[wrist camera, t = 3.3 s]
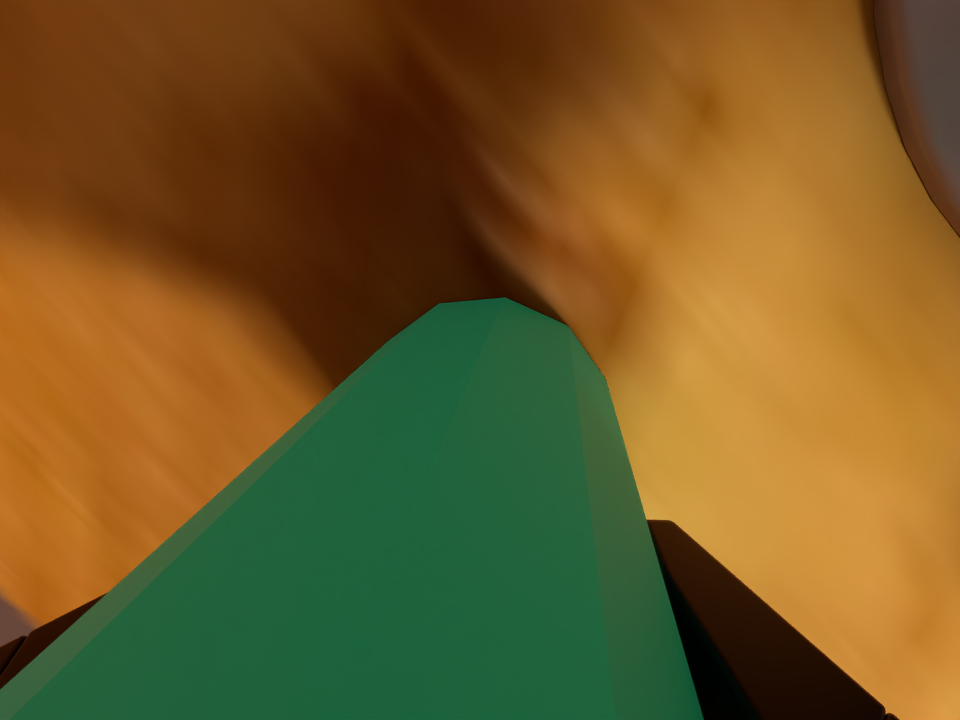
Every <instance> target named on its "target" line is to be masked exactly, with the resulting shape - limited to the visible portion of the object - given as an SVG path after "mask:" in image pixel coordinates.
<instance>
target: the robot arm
mask: <svg viewBox="0 0 960 720" xmlns="http://www.w3.org/2000/svg"><path fill="white" fill-rule="evenodd" d="M646 521H647V524H648V527H649V531H650V534H651V538H652V541H653V545H654V548H655V552H656V555H657V559H658V562H659V566H660V569H661V573H662V576H663V579H664V583H665V586H666V590H667V593H668V597H669V600H670V604H671V607H672V611H673V614H674V618H675V621H676V625H677V628H678V631H679V635H680V638H681V642H682V645H683V649H684V652H685V656H686V659H687V663H688V666H689V670H690V673H691V677H692V680H693V684H694V687H695V690H696V694H697V697H698V701H699V704H700V708H701V711H702V715H703V718H704V720H899V719H898V718H897V717H896V716H895V715H894V714H891V713H887V714H886V710H885V707H884V706H883V705H882V704H881V703H880V702H878V701H877V700H876V699H875V698H874V697H873V696H872V695H870V694H869V693H868V692H867V691H866V690H865V689H864V688H862V687H861V686H860V685H859V684H858V683H857V682H856V681H854V680H853V679H852V678H851V677H850V676H849V675H848V674H847V673H845V672H844V671H843V670H842V669H841V668H840V667H839V666H837V665H836V664H835V663H834V662H833V661H832V660H831V659H829V658H828V657H827V656H826V655H825V654H824V653H823V652H821V651H820V650H819V649H818V648H817V647H816V646H815V645H813V644H812V643H811V642H810V641H809V640H808V639H807V638H805V637H804V636H803V635H802V634H801V633H800V632H799V631H797V630H796V629H795V628H794V627H793V626H792V625H791V624H789V623H788V622H787V621H786V620H785V619H784V618H783V617H781V616H780V615H779V614H778V613H777V612H776V611H775V610H773V609H772V608H771V607H770V606H769V605H768V604H767V603H765V602H764V601H763V600H762V599H761V598H760V597H759V596H757V595H756V594H755V593H754V592H753V591H752V590H751V589H749V588H748V587H747V586H746V585H745V584H744V583H743V582H741V581H740V580H739V579H738V578H737V577H736V576H735V575H733V574H732V573H731V572H730V571H729V570H728V569H727V568H725V567H724V566H723V565H722V564H721V563H720V562H719V561H717V560H716V559H715V558H714V557H713V556H712V555H711V554H710V553H708V552H707V551H706V550H705V549H704V548H703V547H702V546H700V545H699V544H698V543H697V542H696V541H695V540H694V539H692V538H691V537H690V536H689V535H688V534H687V533H686V532H684V531H683V530H682V529H681V528H680V527H679V526H678V525H676V524H675V523H674V522H672V521H669V520H646ZM106 594H107V593H106ZM106 594H104V595H102V596H100V597H98V598H96V599H94V600H92V601H90V602H88V603H86V604H84V605H82V606H80V607H78V608H76V609H74V610H72V611H70V612H68V613H66V614H65V615H63V616H61V617H59V618H57V619H55V620H53V621H51V622H49V623H47V624H45V625H43V626H41V627H39V628H37V629H35V630H33V631H31V632H30V633H29V635H28V636H21V637H19V638H17V639H15V640H13V641H11V642H9V643H7V644H5V645H3V646H1V647H0V689H1V688H3V687H4V686H5V685H6V684H7V683H8V682H9V681H10V680H11V679H13V678H14V677H15V676H16V675H17V674H18V673H19V672H20V671H21V670H23V669H24V668H25V667H26V666H27V665H28V664H29V663H30V662H31V661H33V660H34V659H35V658H36V657H37V656H38V655H39V654H40V653H41V652H43V651H44V650H45V649H46V648H47V647H48V646H49V645H50V644H51V643H53V642H54V641H55V640H56V639H57V638H58V637H59V636H60V635H61V634H63V633H64V632H65V631H66V630H67V629H68V628H69V627H70V626H72V625H73V624H74V623H75V622H76V621H77V620H78V619H79V618H80V617H82V616H83V615H84V614H85V613H86V612H87V611H88V610H89V609H90V608H92V607H93V606H94V605H95V604H96V603H97V602H98V601H99V600H100V599H102V598H103V597H104V596H105V595H106ZM885 714H886V715H885Z"/></svg>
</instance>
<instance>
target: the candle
mask: <svg viewBox="0 0 960 720" xmlns="http://www.w3.org/2000/svg"><path fill="white" fill-rule="evenodd" d="M0 720H704V718H703V715H702V711H701V708H700V704H699V701H698V697H697V694H696V690H695V687H694V684H693V680H692V677H691V673H690V670H689V666H688V663H687V659H686V656H685V652H684V649H683V645H682V642H681V638H680V635H679V631H678V628H677V625H676V621H675V618H674V614H673V611H672V607H671V604H670V600H669V597H668V593H667V590H666V586H665V583H664V579H663V576H662V573H661V569H660V566H659V562H658V559H657V555H656V552H655V548H654V545H653V541H652V538H651V534H650V531H649V527H648V524H647V521H646V517H645V514H644V510H643V507H642V503H641V500H640V496H639V493H638V489H637V486H636V482H635V479H634V475H633V472H632V468H631V465H630V462H629V458H628V455H627V451H626V448H625V444H624V441H623V437H622V434H621V430H620V427H619V423H618V420H617V416H616V413H615V410H614V406H613V403H612V399H611V396H610V392H609V389H608V385H607V382H606V379H605V378H604V376H603V375H602V373H601V372H600V370H599V369H598V368H597V366H596V365H595V363H594V362H593V361H592V359H591V358H590V356H589V355H588V353H587V352H586V351H585V349H584V348H583V346H582V345H581V343H580V342H579V341H578V339H577V338H576V336H575V335H574V334H573V332H572V331H571V329H570V328H569V326H567V325H565V324H563V323H561V322H558V321H556V320H554V319H552V318H550V317H547V316H545V315H543V314H541V313H539V312H536V311H534V310H532V309H530V308H528V307H526V306H523V305H521V304H519V303H517V302H515V301H512V300H510V299H508V298H506V297H505V298H494V299H483V300H472V301H461V302H449V303H439V304H437V305H436V306H435V307H433V308H432V309H431V310H429V311H428V312H427V313H425V314H424V315H423V316H421V317H420V318H418V319H417V320H416V321H414V322H413V323H412V324H410V325H409V326H408V327H406V328H405V329H404V330H402V331H401V332H399V333H398V334H397V335H395V336H394V337H393V338H391V339H390V340H389V341H388V342H386V343H385V344H384V345H383V346H382V347H381V348H380V349H379V350H378V351H376V352H375V353H374V354H373V355H372V356H371V357H370V358H369V359H368V360H366V361H365V362H364V363H363V364H362V365H361V366H360V367H359V368H358V369H356V370H355V371H354V372H353V373H352V374H351V375H350V376H349V377H348V378H346V379H345V380H344V381H343V382H342V383H341V384H340V385H339V386H337V387H336V388H335V389H334V390H333V391H332V392H331V393H330V394H329V395H327V396H326V397H325V398H324V399H323V400H322V401H321V402H320V403H319V404H317V405H316V406H315V407H314V408H313V409H312V410H311V411H310V412H309V413H307V414H306V415H305V416H304V417H303V418H302V419H301V420H300V421H299V422H297V423H296V424H295V425H294V426H293V427H292V428H291V429H290V430H289V431H287V432H286V433H285V434H284V435H283V436H282V437H281V438H280V439H279V440H277V441H276V442H275V443H274V444H273V445H272V446H271V447H270V448H268V449H267V450H266V451H265V452H264V453H263V454H262V455H261V456H260V457H258V458H257V459H256V460H255V461H254V462H253V463H252V464H251V465H250V466H248V467H247V468H246V469H245V470H244V471H243V472H242V473H241V474H240V475H238V476H237V477H236V478H235V479H234V480H233V481H232V482H231V483H230V484H228V485H227V486H226V487H225V488H224V489H223V490H222V491H221V492H220V493H218V494H217V495H216V496H215V497H214V498H213V499H212V500H211V501H210V502H208V503H207V504H206V505H205V506H204V507H203V508H202V509H201V510H199V511H198V512H197V513H196V514H195V515H194V516H193V517H192V518H191V519H189V520H188V521H187V522H186V523H185V524H184V525H183V526H182V527H181V528H179V529H178V530H177V531H176V532H175V533H174V534H173V535H172V536H171V537H169V538H168V539H167V540H166V541H165V542H164V543H163V544H162V545H161V546H159V547H158V548H157V549H156V550H155V551H154V552H153V553H152V554H151V555H149V556H148V557H147V558H146V559H145V560H144V561H143V562H142V563H141V564H139V565H138V566H137V567H136V568H135V569H134V570H133V571H132V572H130V573H129V574H128V575H127V576H126V577H125V578H124V579H123V580H122V581H120V582H119V583H118V584H117V585H116V586H115V587H114V588H113V589H112V590H110V591H109V592H108V593H107V594H106V595H105V596H104V597H103V598H102V599H100V600H99V601H98V602H97V603H96V604H95V605H94V606H93V607H92V608H90V609H89V610H88V611H87V612H86V613H85V614H84V615H83V616H82V617H80V618H79V619H78V620H77V621H76V622H75V623H74V624H73V625H72V626H70V627H69V628H68V629H67V630H66V631H65V632H64V633H63V634H61V635H60V636H59V637H58V638H57V639H56V640H55V641H54V642H53V643H51V644H50V645H49V646H48V647H47V648H46V649H45V650H44V651H43V652H41V653H40V654H39V655H38V656H37V657H36V658H35V659H34V660H33V661H31V662H30V663H29V664H28V665H27V666H26V667H25V668H24V669H23V670H21V671H20V672H19V673H18V674H17V675H16V676H15V677H14V678H13V679H11V680H10V681H9V682H8V683H7V684H6V685H5V686H4V687H3V688H1V689H0Z"/></svg>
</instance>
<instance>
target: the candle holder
mask: <svg viewBox="0 0 960 720" xmlns="http://www.w3.org/2000/svg"><path fill="white" fill-rule="evenodd" d="M874 21H875V27H876V33H877V39H878V45H879V51H880V57H881V63H882V69H883V76H884V82H885V88H886V91H887V94H888V97H889V100H890V103H891V106H892V109H893V112H894V115H895V118H896V121H897V124H898V127H899V130H900V134H901V137H902V140H903V143H904V146H905V149H906V151H907V153H908V154H909V156H910V158H911V160H912V162H913V164H914V166H915V168H916V170H917V172H918V174H919V176H920V177H921V179H922V181H923V183H924V185H925V187H926V189H927V191H928V193H929V195H930V197H931V199H932V201H933V202H934V203H935V205H936V206H937V207H938V209H939V210H940V211H941V213H942V214H943V215H944V216H945V218H946V219H947V220H948V222H949V223H950V224H951V226H952V227H953V228H954V230H955V231H956V232H957V234H958V235H959V236H960V0H874Z"/></svg>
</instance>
